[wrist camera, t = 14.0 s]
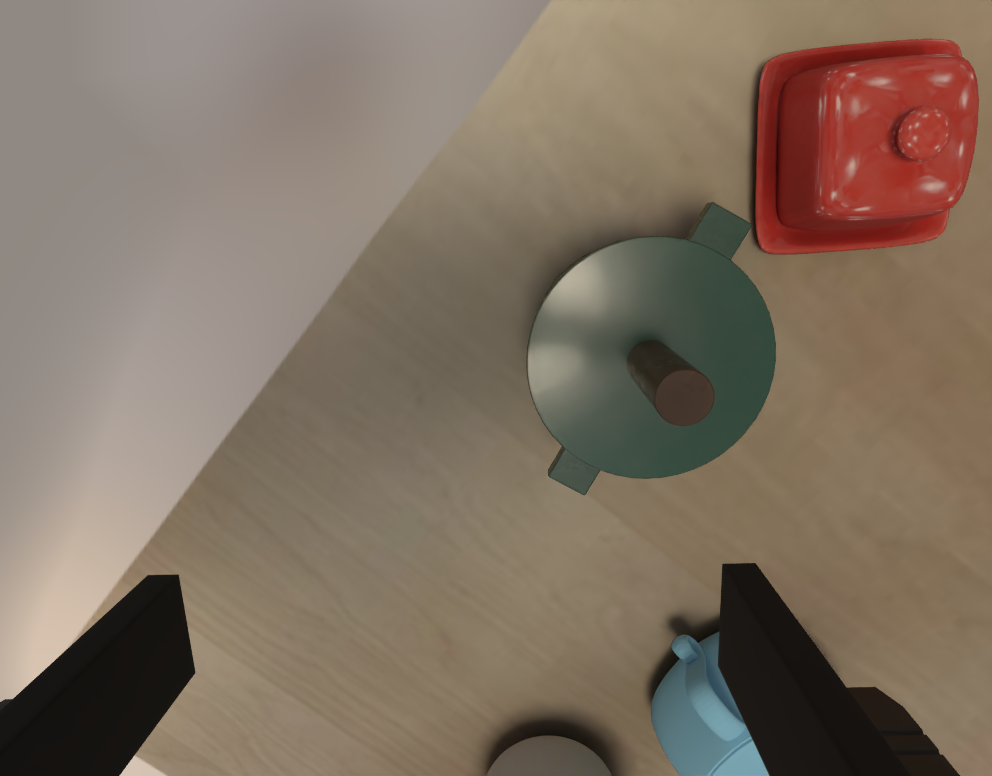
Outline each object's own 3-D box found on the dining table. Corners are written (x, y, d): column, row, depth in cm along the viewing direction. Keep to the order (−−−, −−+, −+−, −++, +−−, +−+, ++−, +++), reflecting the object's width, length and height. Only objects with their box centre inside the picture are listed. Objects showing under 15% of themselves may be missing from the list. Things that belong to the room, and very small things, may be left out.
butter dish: (935, 243, 39) (1044, 244, 31) (746, 256, 40) (803, 261, 32) (952, 41, 37) (1075, -16, 29) (750, 59, 38) (813, 8, 29)
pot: (485, 403, 43) (475, 442, 35) (613, 172, 39) (636, 154, 31) (632, 482, 44) (657, 538, 36) (772, 262, 40) (835, 269, 32)
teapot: (815, 969, 39) (624, 787, 37) (755, 817, 50) (603, 666, 47) (992, 864, 37) (800, 662, 35) (890, 727, 47) (737, 564, 45)
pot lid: (484, 403, 35) (471, 456, 27) (603, 190, 32) (630, 172, 24) (684, 509, 36) (732, 593, 27) (816, 311, 33) (915, 335, 25)
